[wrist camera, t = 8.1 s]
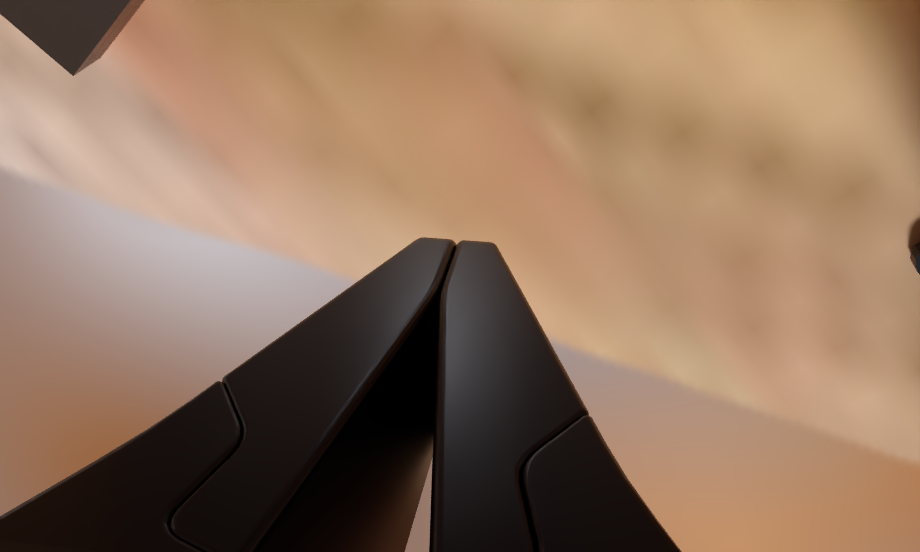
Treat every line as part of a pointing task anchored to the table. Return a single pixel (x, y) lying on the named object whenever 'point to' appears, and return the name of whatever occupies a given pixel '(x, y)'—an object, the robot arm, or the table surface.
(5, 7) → the pot
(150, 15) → the table surface
